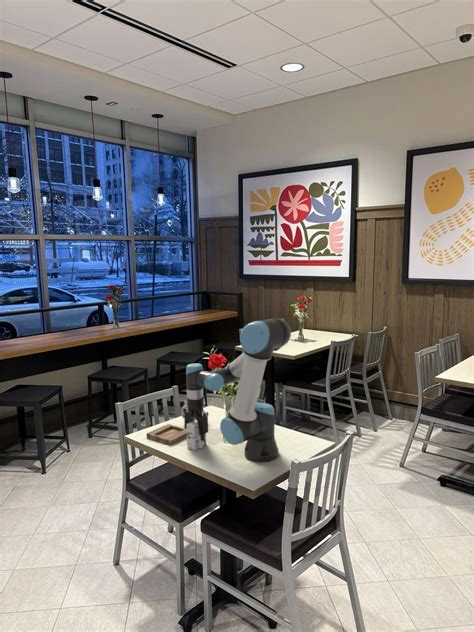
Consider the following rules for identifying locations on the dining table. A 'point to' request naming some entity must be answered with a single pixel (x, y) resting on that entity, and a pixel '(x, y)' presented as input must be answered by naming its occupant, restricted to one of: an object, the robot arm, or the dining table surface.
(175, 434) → the tray
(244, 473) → the dining table surface
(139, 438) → the dining table surface
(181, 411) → the mug
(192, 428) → the ink box
